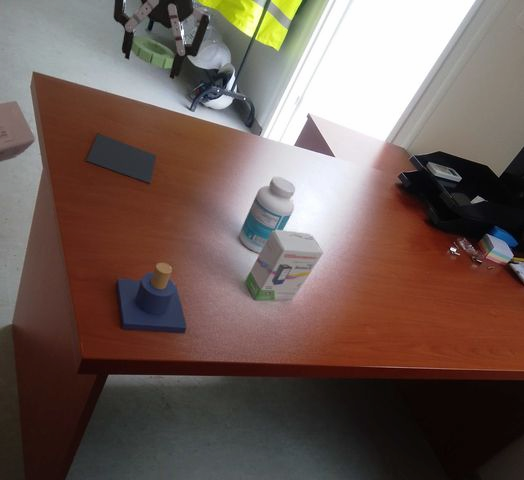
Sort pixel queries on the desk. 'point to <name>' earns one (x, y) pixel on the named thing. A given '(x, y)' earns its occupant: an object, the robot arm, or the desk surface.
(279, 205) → the pill bottle
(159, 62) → the ring
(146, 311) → the stand
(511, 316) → the desk surface
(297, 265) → the ink box
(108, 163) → the mat
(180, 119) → the desk surface
